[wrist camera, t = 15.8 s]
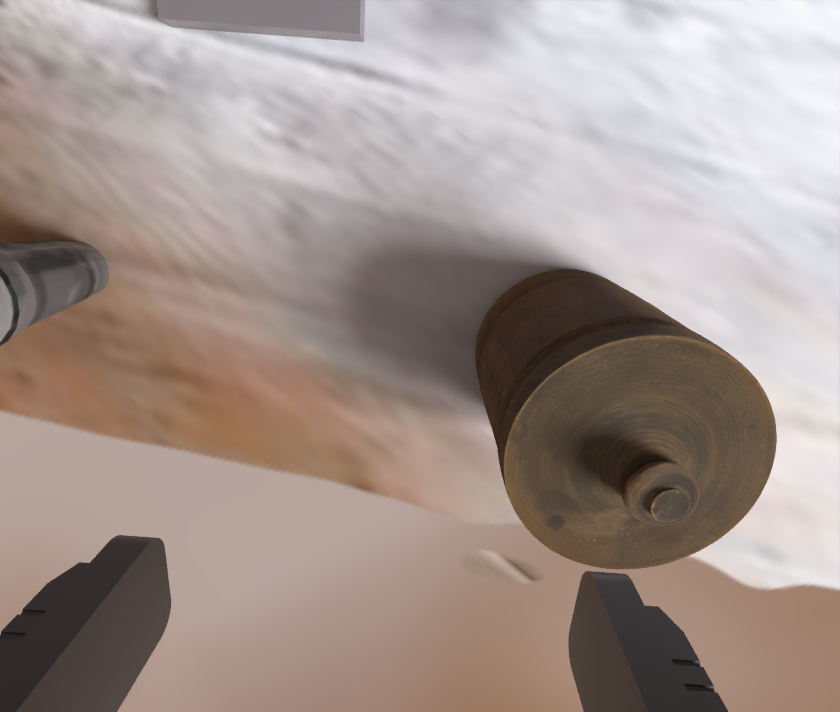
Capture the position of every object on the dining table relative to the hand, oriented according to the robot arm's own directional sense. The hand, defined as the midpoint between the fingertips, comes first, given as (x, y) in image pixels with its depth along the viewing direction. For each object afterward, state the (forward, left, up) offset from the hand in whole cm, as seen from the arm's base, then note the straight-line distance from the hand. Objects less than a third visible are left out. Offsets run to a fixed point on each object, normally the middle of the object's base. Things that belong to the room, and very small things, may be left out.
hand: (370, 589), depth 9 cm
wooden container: (-11, +9, -34) cm, 37 cm away
